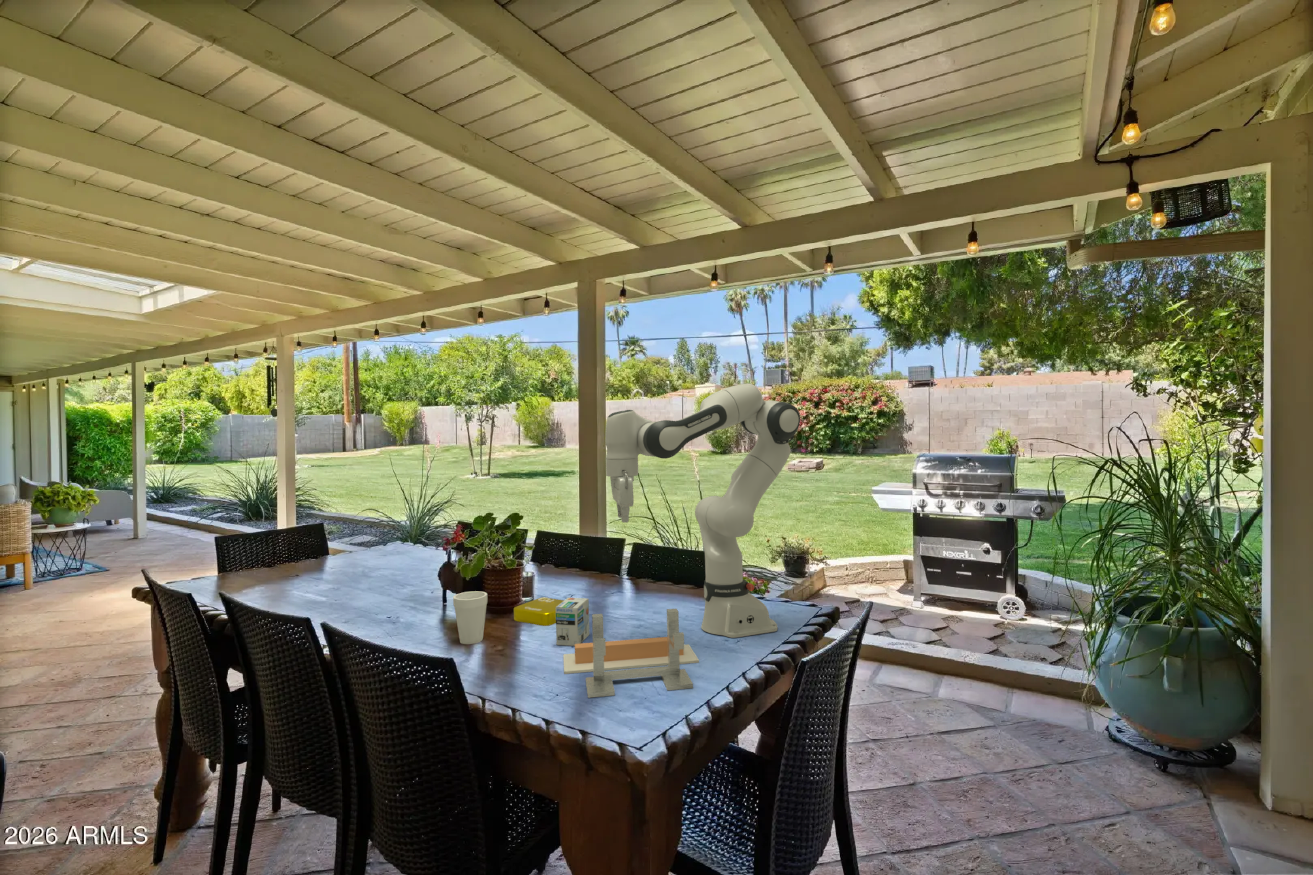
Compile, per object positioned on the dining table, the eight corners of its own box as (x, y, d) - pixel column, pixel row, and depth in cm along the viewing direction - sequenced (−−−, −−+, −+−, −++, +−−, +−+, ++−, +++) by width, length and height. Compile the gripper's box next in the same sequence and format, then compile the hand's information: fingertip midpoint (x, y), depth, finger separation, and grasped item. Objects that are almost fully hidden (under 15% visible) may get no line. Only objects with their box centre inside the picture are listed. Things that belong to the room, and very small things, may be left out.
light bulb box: (578, 646, 169) (577, 608, 169) (555, 645, 170) (554, 607, 170) (590, 634, 179) (589, 597, 179) (568, 633, 181) (567, 596, 181)
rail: (681, 650, 162) (680, 635, 162) (683, 655, 159) (683, 639, 159) (575, 659, 158) (574, 643, 158) (575, 664, 154) (575, 648, 154)
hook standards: (684, 673, 149) (683, 607, 148) (693, 688, 140) (691, 618, 140) (585, 681, 145) (584, 614, 144) (587, 697, 136) (586, 626, 136)
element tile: (511, 621, 195) (510, 606, 194) (542, 609, 208) (541, 595, 207) (547, 628, 187) (547, 612, 187) (577, 615, 200) (577, 600, 200)
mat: (688, 646, 167) (688, 644, 167) (699, 662, 155) (699, 660, 155) (563, 656, 161) (563, 654, 161) (564, 674, 150) (564, 671, 150)
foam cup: (494, 639, 176) (493, 594, 176) (465, 648, 169) (464, 601, 169) (477, 633, 182) (476, 589, 182) (448, 641, 176) (447, 596, 176)
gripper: (638, 471, 157) (639, 524, 157) (629, 467, 177) (630, 514, 177) (614, 471, 156) (615, 525, 156) (607, 467, 176) (608, 515, 176)
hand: (623, 519), depth 167 cm, fingers open, 8 cm apart
